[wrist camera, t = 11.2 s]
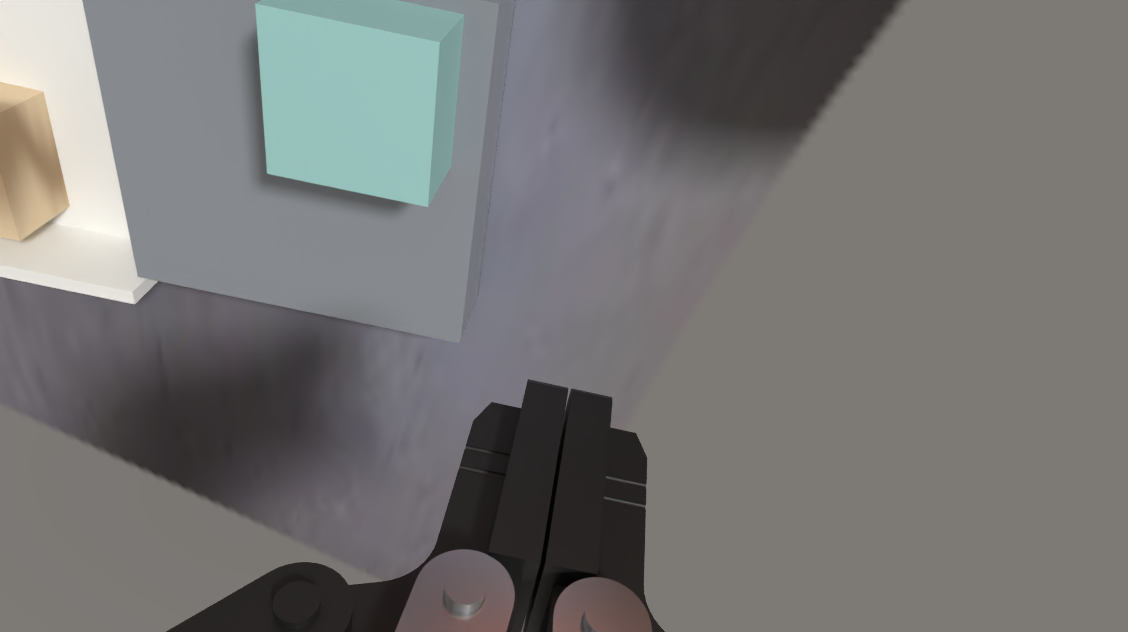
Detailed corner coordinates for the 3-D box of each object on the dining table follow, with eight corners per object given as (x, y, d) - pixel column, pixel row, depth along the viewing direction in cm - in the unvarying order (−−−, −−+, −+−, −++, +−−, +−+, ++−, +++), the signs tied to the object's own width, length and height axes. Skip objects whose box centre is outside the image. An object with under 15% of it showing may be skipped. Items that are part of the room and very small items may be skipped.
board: (133, -103, 25) (64, -88, 22) (518, -21, 25) (499, 4, 22) (183, 233, 32) (137, 276, 29) (477, 294, 32) (460, 343, 30)
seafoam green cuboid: (300, -21, 22) (254, 3, 20) (464, 14, 22) (439, 42, 20) (305, 136, 25) (266, 173, 23) (450, 166, 25) (427, 207, 23)
